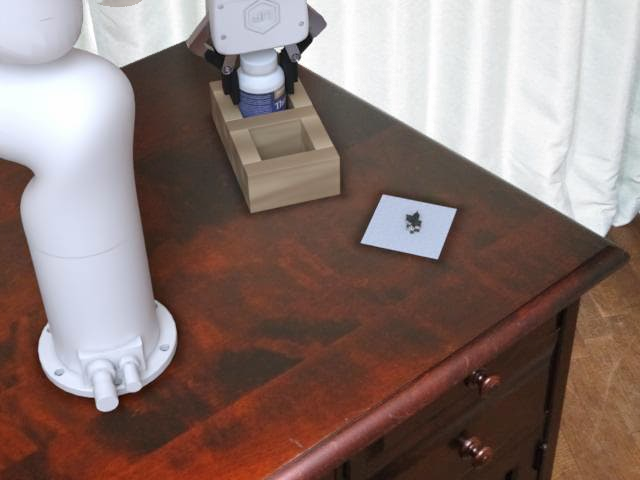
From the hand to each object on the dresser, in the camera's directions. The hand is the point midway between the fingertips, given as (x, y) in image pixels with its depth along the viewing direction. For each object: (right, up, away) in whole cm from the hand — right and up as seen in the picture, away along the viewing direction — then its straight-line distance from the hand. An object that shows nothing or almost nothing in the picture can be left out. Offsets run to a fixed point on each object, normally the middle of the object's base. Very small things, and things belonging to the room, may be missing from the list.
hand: (260, 91), depth 125 cm
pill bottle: (0, -4, +4) cm, 5 cm away
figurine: (+16, -15, -8) cm, 23 cm away
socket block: (+1, -7, +1) cm, 7 cm away
